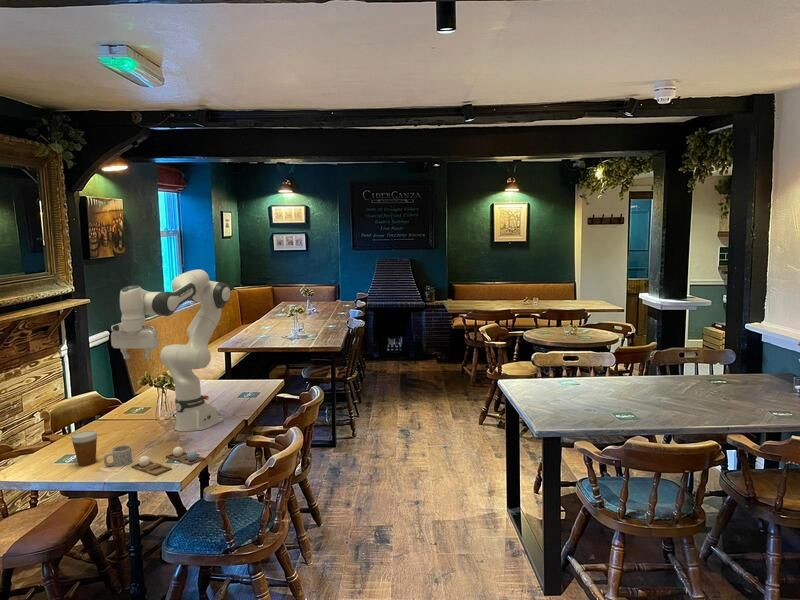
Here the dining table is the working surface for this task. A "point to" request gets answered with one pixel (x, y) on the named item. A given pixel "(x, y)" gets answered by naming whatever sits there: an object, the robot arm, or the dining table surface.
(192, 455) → the ball blue
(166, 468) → the tray
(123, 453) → the mug
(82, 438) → the disposable coffee cup
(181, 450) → the ivory ball
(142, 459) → the ivory ball
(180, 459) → the rack
